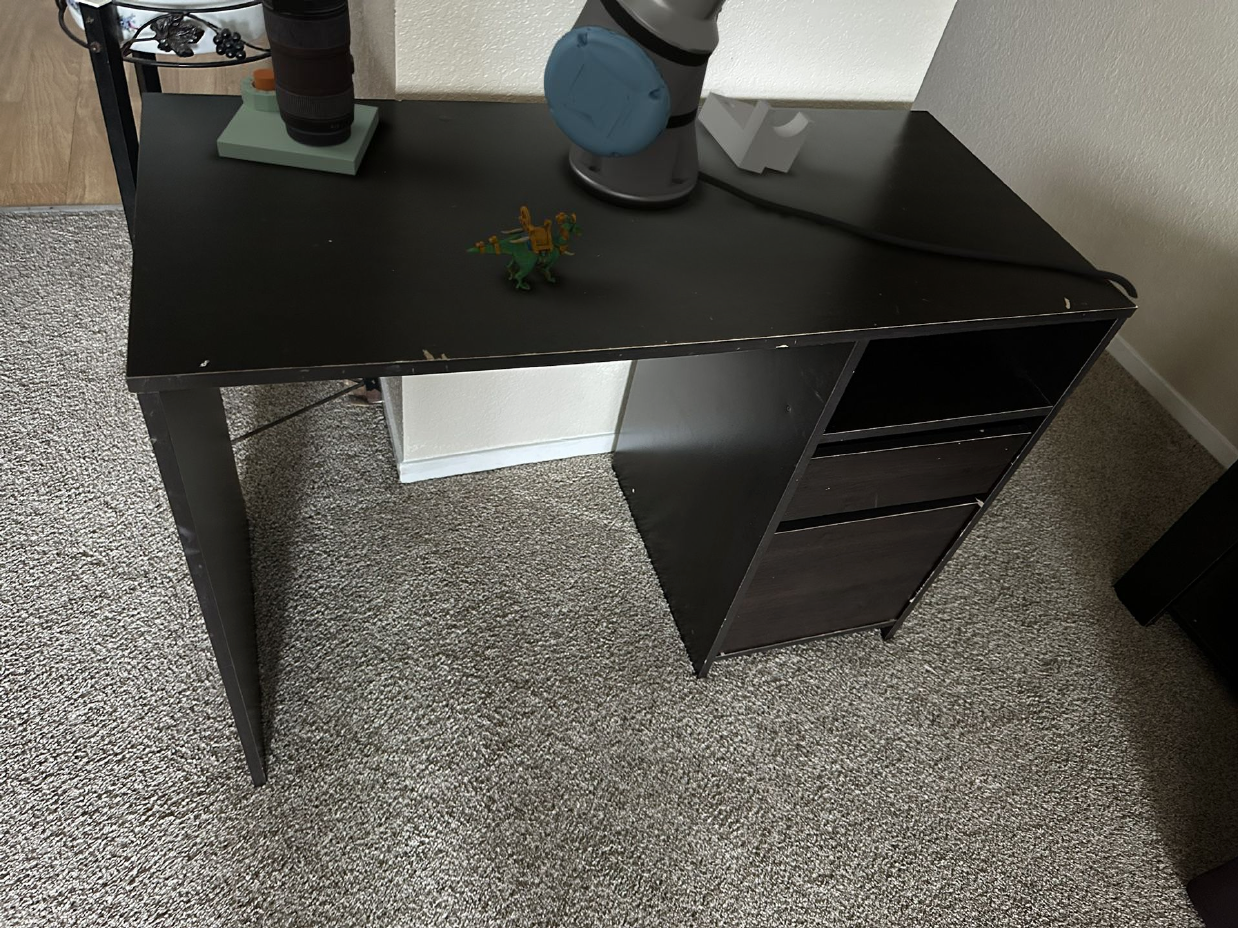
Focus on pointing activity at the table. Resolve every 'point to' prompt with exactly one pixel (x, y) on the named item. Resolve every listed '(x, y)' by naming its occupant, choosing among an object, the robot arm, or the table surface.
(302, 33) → the camera lens
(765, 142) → the bracket
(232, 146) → the scale
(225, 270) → the table surface
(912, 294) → the table surface
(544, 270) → the figurine
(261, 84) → the button
